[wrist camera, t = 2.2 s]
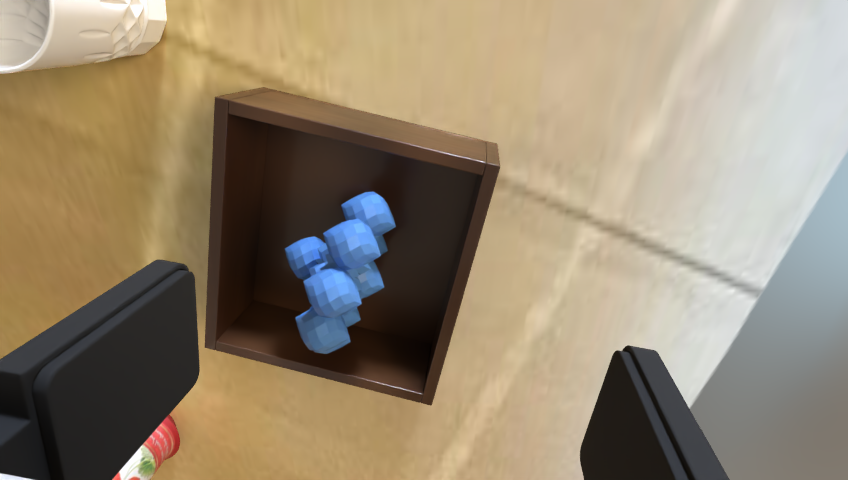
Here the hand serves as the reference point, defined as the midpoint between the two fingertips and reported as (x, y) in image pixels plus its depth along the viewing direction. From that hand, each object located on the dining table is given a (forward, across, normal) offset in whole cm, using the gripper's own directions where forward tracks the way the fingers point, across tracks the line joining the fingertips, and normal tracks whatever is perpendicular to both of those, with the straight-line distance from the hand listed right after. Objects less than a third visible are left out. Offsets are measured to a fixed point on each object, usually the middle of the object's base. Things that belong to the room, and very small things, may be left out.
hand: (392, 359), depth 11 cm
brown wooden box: (+24, +6, +7) cm, 26 cm away
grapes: (+24, +6, +7) cm, 26 cm away
